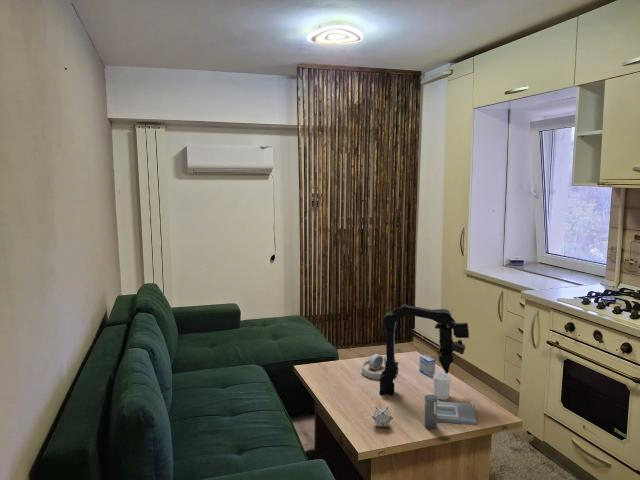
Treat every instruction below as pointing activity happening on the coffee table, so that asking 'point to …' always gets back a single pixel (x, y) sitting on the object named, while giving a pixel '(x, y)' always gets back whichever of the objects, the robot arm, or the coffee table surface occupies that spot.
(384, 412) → the game die
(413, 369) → the coffee table surface
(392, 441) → the coffee table surface
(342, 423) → the coffee table surface
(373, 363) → the headphones
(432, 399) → the grey tall cup
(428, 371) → the medicine box
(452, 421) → the grey base plate
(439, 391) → the white cup
